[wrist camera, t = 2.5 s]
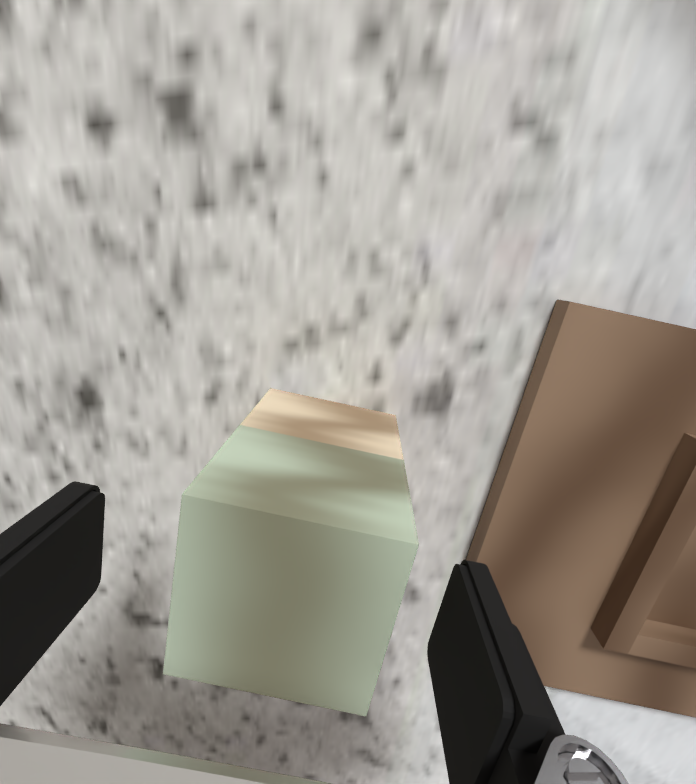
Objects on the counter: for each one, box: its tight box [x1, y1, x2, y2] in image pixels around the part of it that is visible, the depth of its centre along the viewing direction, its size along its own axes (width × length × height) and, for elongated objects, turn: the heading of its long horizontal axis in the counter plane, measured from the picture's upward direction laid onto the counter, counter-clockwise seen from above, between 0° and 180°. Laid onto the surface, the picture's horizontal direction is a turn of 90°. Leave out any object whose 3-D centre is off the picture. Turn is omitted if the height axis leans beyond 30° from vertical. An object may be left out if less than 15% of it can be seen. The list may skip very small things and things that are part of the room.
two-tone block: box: [163, 388, 419, 716], centre depth 13 cm, size 5×5×8 cm
